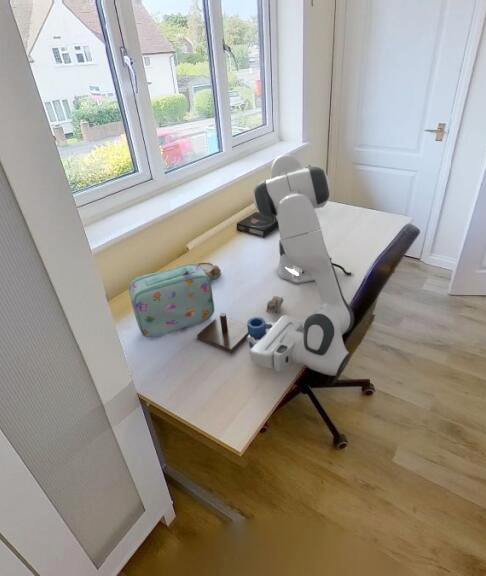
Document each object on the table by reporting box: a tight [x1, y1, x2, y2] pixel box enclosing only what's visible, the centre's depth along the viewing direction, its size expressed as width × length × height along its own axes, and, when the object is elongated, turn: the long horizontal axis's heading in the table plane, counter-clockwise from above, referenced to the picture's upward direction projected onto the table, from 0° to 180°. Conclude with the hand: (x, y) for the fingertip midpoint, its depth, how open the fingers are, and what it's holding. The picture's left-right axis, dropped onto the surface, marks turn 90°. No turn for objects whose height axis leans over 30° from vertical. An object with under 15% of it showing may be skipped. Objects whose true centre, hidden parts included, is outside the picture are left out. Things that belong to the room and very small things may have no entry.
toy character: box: [265, 295, 284, 314], centre depth 140 cm, size 4×8×6 cm, turn 154°
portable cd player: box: [235, 211, 279, 239], centre depth 198 cm, size 16×17×4 cm
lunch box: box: [128, 263, 215, 339], centre depth 131 cm, size 27×10×21 cm, turn 117°
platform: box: [196, 312, 248, 355], centre depth 128 cm, size 14×12×9 cm
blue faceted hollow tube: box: [246, 316, 267, 349], centre depth 121 cm, size 5×5×9 cm
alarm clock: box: [196, 261, 222, 283], centre depth 161 cm, size 11×5×15 cm
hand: (254, 330), depth 121 cm, fingers closed on blue faceted hollow tube, 5 cm apart
